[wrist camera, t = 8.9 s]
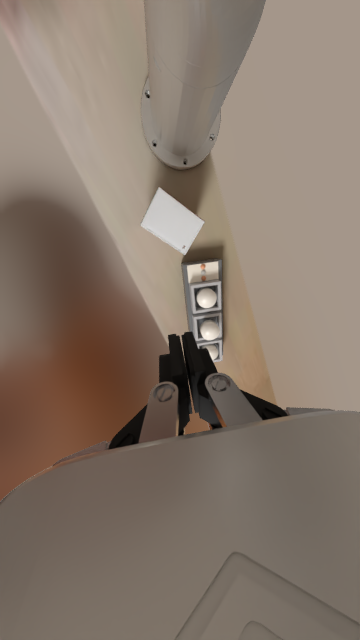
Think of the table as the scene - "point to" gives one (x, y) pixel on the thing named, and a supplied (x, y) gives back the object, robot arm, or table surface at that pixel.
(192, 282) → the button board
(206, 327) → the button middle
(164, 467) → the robot arm
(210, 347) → the button
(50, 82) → the table surface
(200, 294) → the button
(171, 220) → the small box
